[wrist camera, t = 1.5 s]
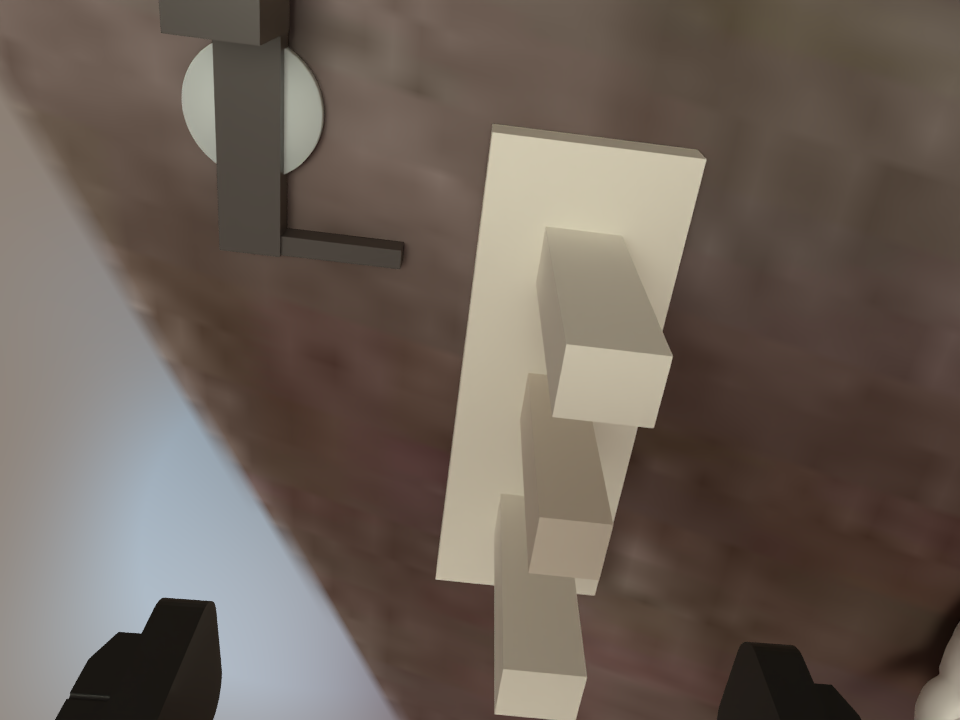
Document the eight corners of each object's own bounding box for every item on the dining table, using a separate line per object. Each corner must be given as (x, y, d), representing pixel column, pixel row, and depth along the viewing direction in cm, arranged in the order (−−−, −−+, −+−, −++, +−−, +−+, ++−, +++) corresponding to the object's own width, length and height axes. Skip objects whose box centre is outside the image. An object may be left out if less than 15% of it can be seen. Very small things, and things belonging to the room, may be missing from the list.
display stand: (492, 123, 31) (492, 219, 20) (697, 149, 31) (797, 256, 21) (437, 558, 41) (419, 765, 31) (591, 574, 41) (623, 783, 31)
